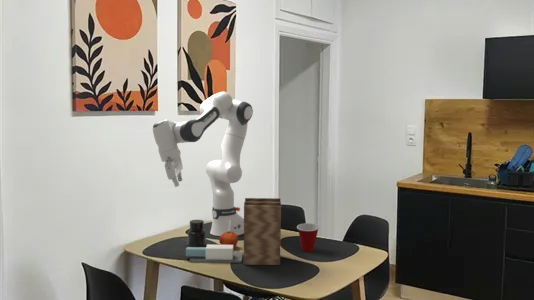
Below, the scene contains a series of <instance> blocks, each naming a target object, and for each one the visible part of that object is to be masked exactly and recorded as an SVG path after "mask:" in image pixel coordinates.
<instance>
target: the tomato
mask: <svg viewBox="0 0 534 300" xmlns="http://www.w3.org/2000/svg"><path fill="white" fill-rule="evenodd" d="M238 242H239V235H237V234H236V233H233V232H231V231H229V232H225V233H223V234H222V235H221V236H219V245H233V249H235V248H236V247H237V245H238Z"/></svg>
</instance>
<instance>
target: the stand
mask: <svg viewBox="0 0 534 300" xmlns="http://www.w3.org/2000/svg"><path fill="white" fill-rule="evenodd" d="M243 202H244V204H243V218H244V234H243V265H250V266H251V265H254V266H255V265H257V266H258V265H260V266H261V265H262V266H266V265H268V266H269V265H270V266H272V265H273V266H280V265H281V234H282V233H281V231H282V227H281V226H282V225H281V224H282V219H281V218H282V205H281V204H282V202H281V198H278V197H275V198H274V197H273V198H271V197H270V198H269V197H264V198H263V197H260V198H259V197H244V201H243Z"/></svg>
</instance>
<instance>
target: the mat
mask: <svg viewBox="0 0 534 300" xmlns="http://www.w3.org/2000/svg"><path fill="white" fill-rule="evenodd" d="M243 258H244V251H233V260H215V259H206V256H190V259H189V263H221V264H222V263H228V264H229V263H231V264H232V263H237V264H240V263H241V264H242V262H243Z"/></svg>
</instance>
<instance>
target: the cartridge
mask: <svg viewBox="0 0 534 300" xmlns="http://www.w3.org/2000/svg"><path fill="white" fill-rule="evenodd" d="M205 246H206V247H205ZM205 246H202V247H190V246H187V247H186V249H185V257H191V256H206V259H215V260H233V252H234V248H233V245H221V244H206V245H205Z"/></svg>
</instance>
